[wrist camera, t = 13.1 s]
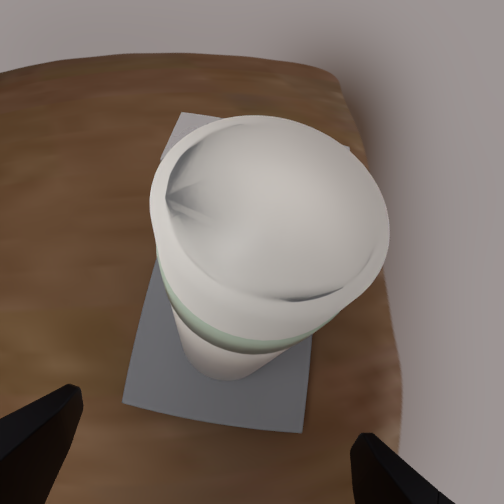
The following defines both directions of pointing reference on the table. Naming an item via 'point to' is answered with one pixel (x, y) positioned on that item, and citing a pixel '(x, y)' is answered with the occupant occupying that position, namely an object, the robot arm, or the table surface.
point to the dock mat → (207, 389)
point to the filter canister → (262, 238)
